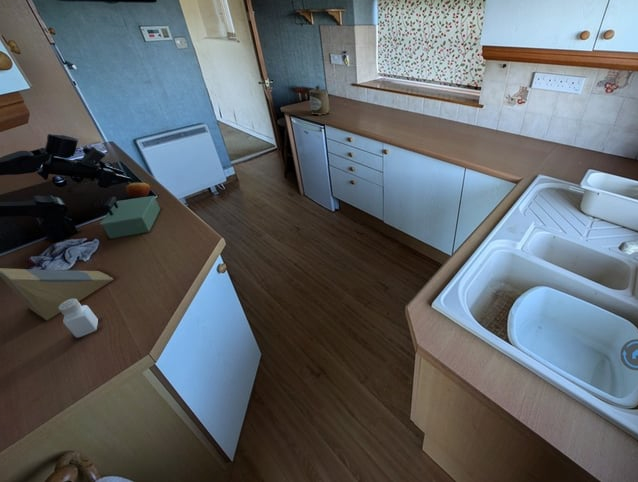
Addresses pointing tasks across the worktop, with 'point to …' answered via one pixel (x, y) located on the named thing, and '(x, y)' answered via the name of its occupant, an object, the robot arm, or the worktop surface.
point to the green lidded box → (134, 223)
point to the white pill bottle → (78, 318)
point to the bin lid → (126, 209)
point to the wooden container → (319, 100)
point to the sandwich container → (52, 287)
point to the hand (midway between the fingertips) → (127, 176)
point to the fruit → (137, 190)
